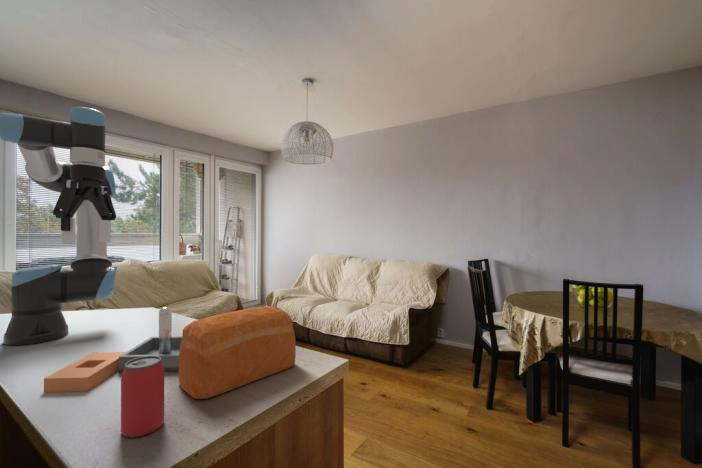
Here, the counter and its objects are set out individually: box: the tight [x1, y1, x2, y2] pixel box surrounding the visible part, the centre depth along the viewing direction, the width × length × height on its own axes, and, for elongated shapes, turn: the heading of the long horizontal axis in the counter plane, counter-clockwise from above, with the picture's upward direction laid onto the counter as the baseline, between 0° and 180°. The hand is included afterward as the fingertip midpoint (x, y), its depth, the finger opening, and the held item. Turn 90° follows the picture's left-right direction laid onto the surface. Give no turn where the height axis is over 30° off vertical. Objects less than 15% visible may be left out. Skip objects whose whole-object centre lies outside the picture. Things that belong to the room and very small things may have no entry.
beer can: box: [120, 356, 165, 438], centre depth 58 cm, size 7×7×12 cm
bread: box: [178, 305, 297, 400], centre depth 80 cm, size 14×26×16 cm, turn 137°
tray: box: [118, 335, 183, 374], centre depth 88 cm, size 15×15×4 cm
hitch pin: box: [158, 306, 173, 354], centre depth 88 cm, size 3×3×14 cm
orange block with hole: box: [43, 351, 127, 393], centre depth 78 cm, size 15×9×3 cm, turn 4°
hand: (88, 243), depth 89 cm, fingers open, 13 cm apart
